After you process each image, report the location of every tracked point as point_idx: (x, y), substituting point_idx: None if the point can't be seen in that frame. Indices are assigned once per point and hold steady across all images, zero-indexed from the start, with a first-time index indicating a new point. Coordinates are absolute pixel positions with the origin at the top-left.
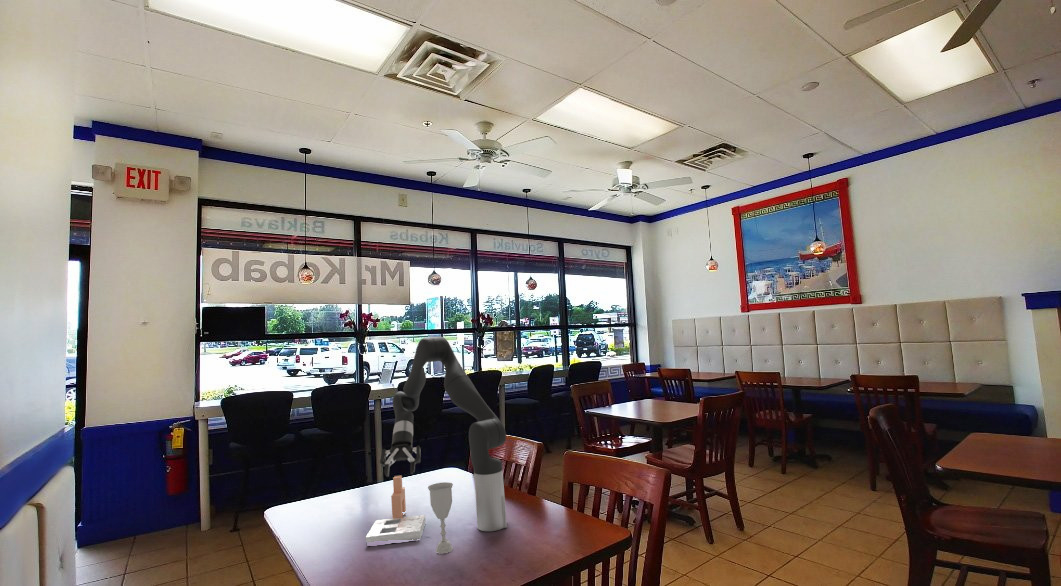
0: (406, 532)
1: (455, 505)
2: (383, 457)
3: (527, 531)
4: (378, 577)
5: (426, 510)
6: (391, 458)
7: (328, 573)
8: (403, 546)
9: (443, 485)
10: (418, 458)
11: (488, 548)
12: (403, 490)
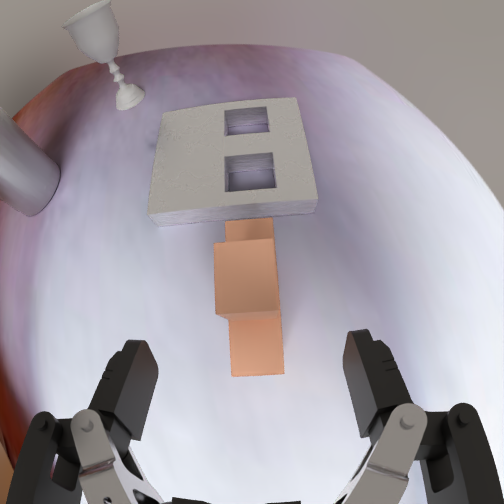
0: (194, 107)
1: (86, 374)
2: (469, 469)
3: None
4: (230, 44)
5: (169, 365)
6: (364, 468)
7: (319, 56)
8: None
9: (74, 26)
10: (41, 418)
11: (74, 110)
12: (230, 330)
